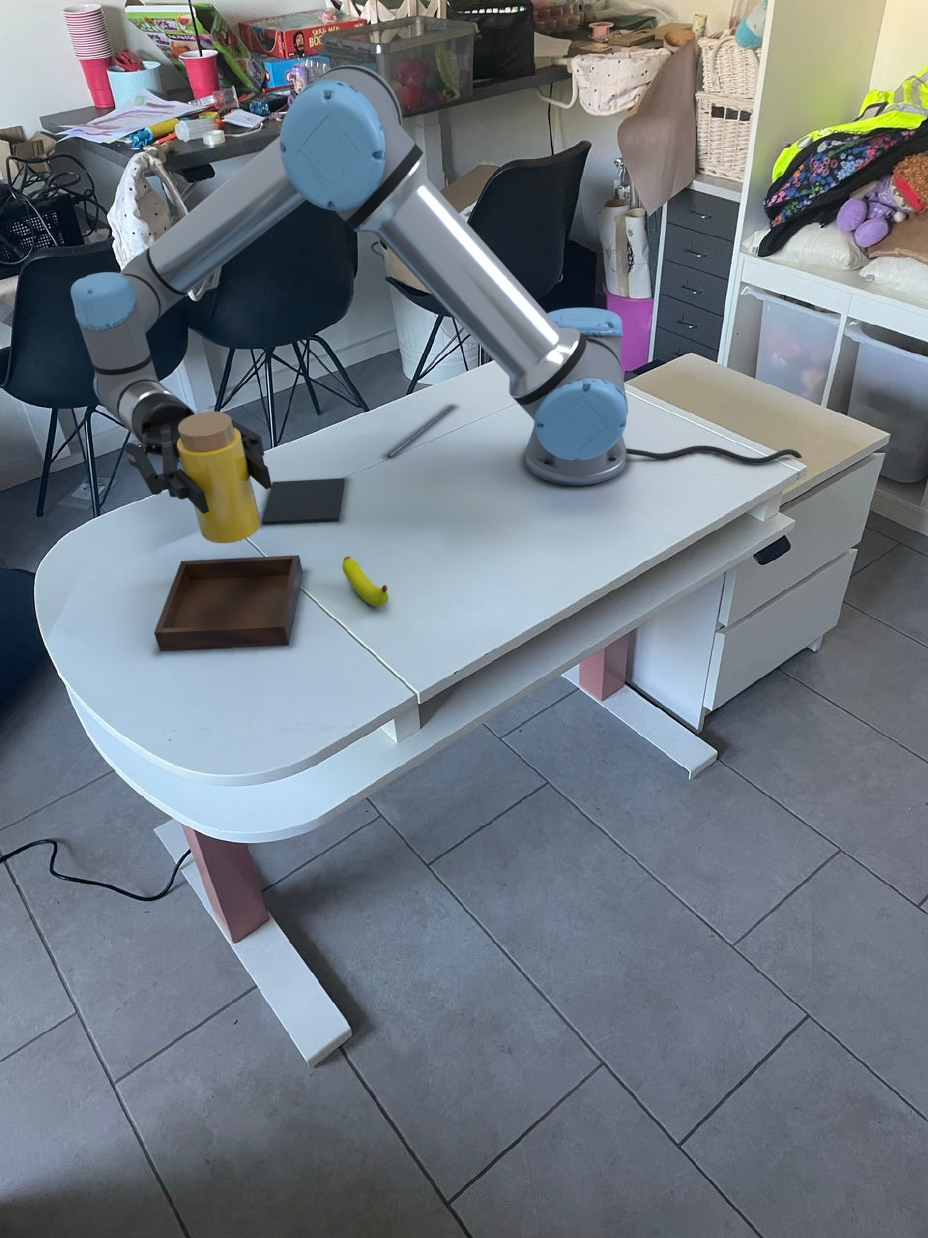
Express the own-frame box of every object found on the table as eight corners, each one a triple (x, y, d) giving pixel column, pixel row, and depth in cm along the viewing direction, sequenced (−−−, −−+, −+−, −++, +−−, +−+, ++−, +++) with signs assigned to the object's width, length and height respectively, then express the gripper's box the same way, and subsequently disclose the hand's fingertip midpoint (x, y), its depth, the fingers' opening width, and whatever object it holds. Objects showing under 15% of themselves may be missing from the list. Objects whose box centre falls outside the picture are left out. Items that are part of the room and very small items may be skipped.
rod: (454, 409, 156) (454, 405, 156) (391, 458, 144) (391, 454, 143) (450, 407, 156) (450, 404, 156) (387, 457, 144) (387, 453, 144)
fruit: (397, 615, 113) (393, 583, 110) (382, 622, 112) (378, 590, 109) (356, 577, 119) (351, 546, 116) (342, 583, 118) (336, 552, 115)
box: (303, 573, 121) (299, 554, 119) (288, 645, 109) (284, 626, 107) (186, 579, 121) (180, 560, 119) (160, 651, 110) (153, 632, 108)
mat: (345, 481, 138) (344, 477, 138) (338, 521, 130) (338, 517, 130) (273, 485, 139) (272, 481, 138) (262, 525, 130) (261, 521, 130)
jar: (264, 509, 114) (241, 406, 105) (255, 541, 108) (230, 436, 100) (207, 512, 114) (179, 410, 105) (195, 545, 109) (165, 440, 100)
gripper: (236, 421, 125) (317, 488, 110) (92, 471, 116) (160, 550, 101) (224, 370, 120) (308, 432, 105) (73, 417, 111) (142, 492, 97)
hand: (235, 490), depth 103 cm, fingers closed on jar, 7 cm apart
